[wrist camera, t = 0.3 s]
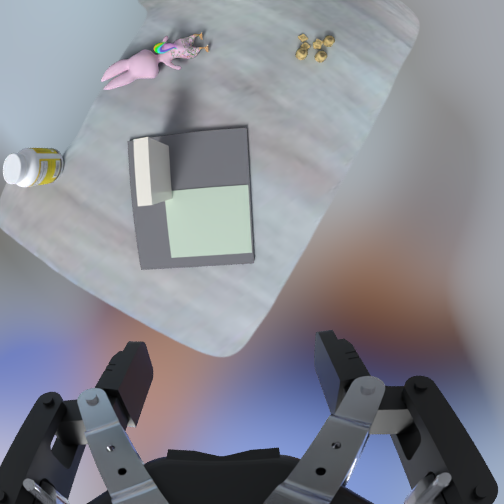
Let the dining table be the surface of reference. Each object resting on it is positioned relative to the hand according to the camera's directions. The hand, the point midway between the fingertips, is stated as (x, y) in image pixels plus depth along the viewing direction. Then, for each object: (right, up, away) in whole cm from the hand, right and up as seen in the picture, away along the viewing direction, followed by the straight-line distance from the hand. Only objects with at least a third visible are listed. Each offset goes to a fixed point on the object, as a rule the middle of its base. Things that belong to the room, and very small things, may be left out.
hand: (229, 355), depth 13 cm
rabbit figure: (-12, +31, +19) cm, 38 cm away
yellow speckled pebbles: (+10, +33, +20) cm, 40 cm away
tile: (-10, +15, +23) cm, 29 cm away
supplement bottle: (-30, +18, +22) cm, 41 cm away
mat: (-7, +11, +24) cm, 28 cm away
